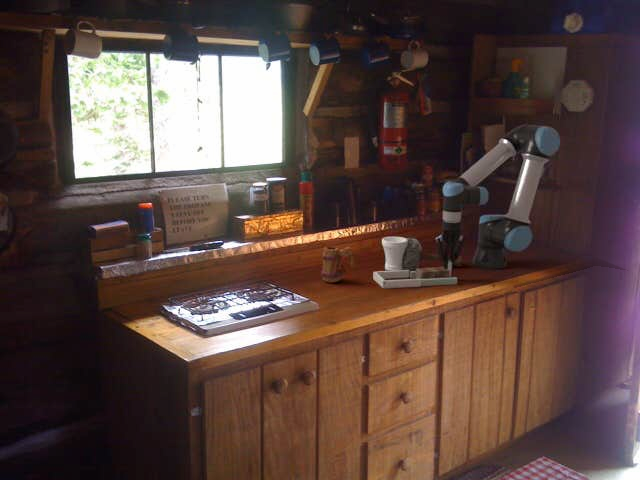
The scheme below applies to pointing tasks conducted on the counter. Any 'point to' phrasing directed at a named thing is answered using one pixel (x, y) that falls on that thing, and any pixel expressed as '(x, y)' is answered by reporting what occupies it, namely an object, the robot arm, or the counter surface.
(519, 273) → the counter surface
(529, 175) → the robot arm
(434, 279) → the slot rails
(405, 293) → the counter surface
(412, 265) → the hammer
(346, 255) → the mug
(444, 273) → the chip
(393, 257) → the cup
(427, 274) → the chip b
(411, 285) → the tray frame
